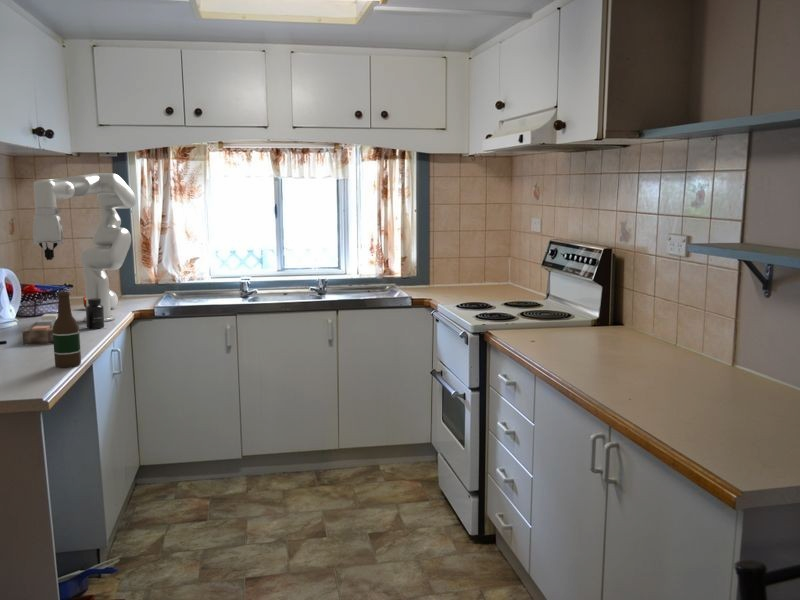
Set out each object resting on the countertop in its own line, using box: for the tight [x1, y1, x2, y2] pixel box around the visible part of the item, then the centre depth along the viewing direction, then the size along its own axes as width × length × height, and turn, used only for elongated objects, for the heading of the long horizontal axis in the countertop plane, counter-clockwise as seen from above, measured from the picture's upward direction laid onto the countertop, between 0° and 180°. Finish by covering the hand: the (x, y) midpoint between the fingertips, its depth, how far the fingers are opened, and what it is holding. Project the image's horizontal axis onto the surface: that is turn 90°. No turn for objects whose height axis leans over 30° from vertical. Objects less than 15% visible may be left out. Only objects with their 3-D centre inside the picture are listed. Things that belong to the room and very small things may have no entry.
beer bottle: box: [53, 290, 82, 369], centre depth 227 cm, size 8×8×24 cm
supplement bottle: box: [85, 298, 105, 330], centre depth 292 cm, size 7×7×12 cm
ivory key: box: [41, 313, 58, 321], centre depth 277 cm, size 5×5×4 cm
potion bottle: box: [82, 289, 119, 310], centre depth 338 cm, size 9×10×15 cm
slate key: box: [36, 319, 55, 327], centre depth 270 cm, size 5×5×4 cm
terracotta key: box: [32, 325, 50, 331], centre depth 264 cm, size 5×5×4 cm
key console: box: [21, 320, 54, 346], centre depth 271 cm, size 11×21×5 cm, turn 13°
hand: (49, 259), depth 278 cm, fingers closed
